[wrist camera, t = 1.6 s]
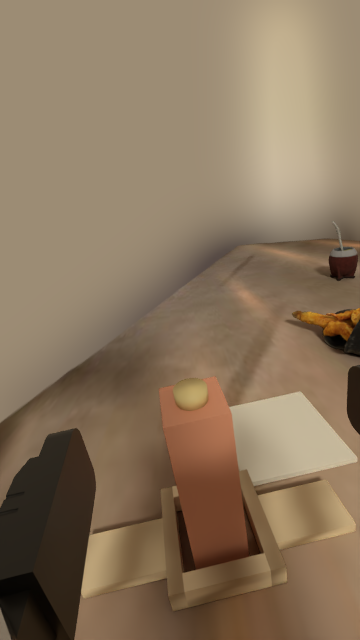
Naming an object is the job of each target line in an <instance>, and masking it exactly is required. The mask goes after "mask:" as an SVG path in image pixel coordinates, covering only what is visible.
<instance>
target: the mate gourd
mask: <svg viewBox="0 0 360 640" xmlns="http://www.w3.org/2000/svg"><path fill="white" fill-rule="evenodd" d="M332 223H333V224H334V226H335V227H336V229H337V234H338V237H339V243H340V248H335V249H333V250H332V251H331V253H330V256H329V265H330V270H331V274H332V275H330V276H331V277H337V280H338V281H340V280H341V279H343V278H355V276H354V273H355V271H356V267H357V262H358V256H357V252H356V250H355V249H354V248H353V247H343V246H342V241H341V236H340V230H339V228H338V226H337V225H336V224H335V222H334V221H332Z"/></svg>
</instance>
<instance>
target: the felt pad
mask: <svg viewBox="0 0 360 640" xmlns="http://www.w3.org/2000/svg"><path fill="white" fill-rule="evenodd" d="M229 408H230V411H231V413H232V420H233V429H234V437H235V445H236V453H237V461H238V469H239V471H241V470H246V469H247V471H248V473H249V476H250V478H251V481H252V483H253V485H254V486H257V485H261V484H266V483H270V482H274V481H278V480H283V479H287V478H291V477H295V476H300V475H304V474H308V473H312V472H317V471H321V470H325V469H329V468H334V467H338V466H342V465H347V464H351V463H355V462H357V457H356V455H355V454H354V453H353V452H352V451H351V450H350V448H349V447H348V446H347V445H346V444H345V443H344V441H343V440H342V439H341V438H340V437H339V436H338V435H337V433H336V432H335V431H334V430H333V429H332V428H331V426H330V425H329V424H328V423H327V422H326V421H325V419H324V418H323V417H322V416H321V415H320V414H319V412H318V411H317V410H316V409H315V408H314V407H313V405H312V404H311V403H310V402H309V401H308V400H307V398H306V397H305V396H304V395H303V394H302V393H301V391H300V392H296V393H291V394H287V395H282V396H278V397H273V398H268V399H264V400H259V401H255V402H250V403H246V404H241V405H236V406H232V407H229Z"/></svg>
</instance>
